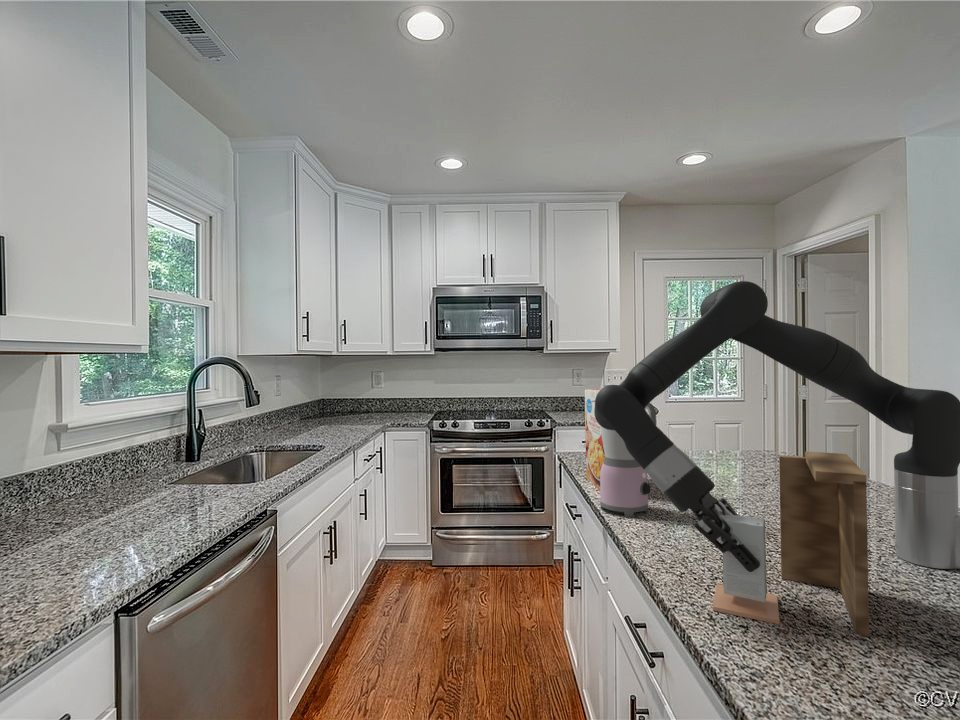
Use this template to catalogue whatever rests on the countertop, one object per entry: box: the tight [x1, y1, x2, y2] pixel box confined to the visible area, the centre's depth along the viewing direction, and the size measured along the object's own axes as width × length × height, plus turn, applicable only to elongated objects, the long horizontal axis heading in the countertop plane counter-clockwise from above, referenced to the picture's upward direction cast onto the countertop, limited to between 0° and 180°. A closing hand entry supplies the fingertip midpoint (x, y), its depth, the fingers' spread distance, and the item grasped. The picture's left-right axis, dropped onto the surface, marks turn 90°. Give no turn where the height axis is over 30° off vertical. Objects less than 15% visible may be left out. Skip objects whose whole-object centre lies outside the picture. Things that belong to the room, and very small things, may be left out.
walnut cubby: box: [778, 451, 870, 637], centre depth 80 cm, size 10×18×23 cm, turn 151°
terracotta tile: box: [712, 583, 780, 625], centre depth 80 cm, size 9×9×1 cm
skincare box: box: [722, 514, 768, 602], centre depth 80 cm, size 6×4×12 cm
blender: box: [599, 402, 657, 518], centre depth 130 cm, size 16×12×32 cm
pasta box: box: [584, 388, 605, 492], centre depth 156 cm, size 23×8×30 cm, turn 2°
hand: (757, 562), depth 79 cm, fingers closed on skincare box, 4 cm apart
